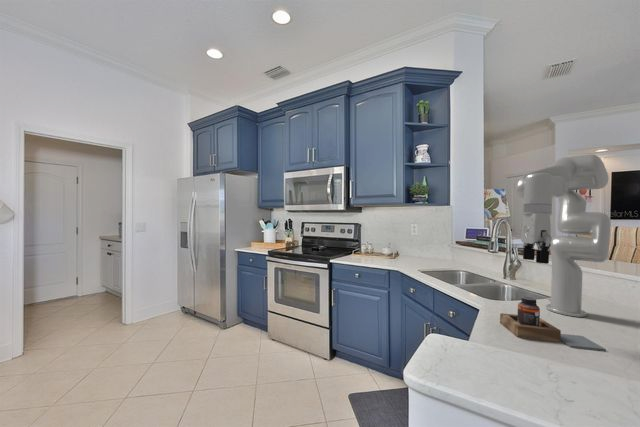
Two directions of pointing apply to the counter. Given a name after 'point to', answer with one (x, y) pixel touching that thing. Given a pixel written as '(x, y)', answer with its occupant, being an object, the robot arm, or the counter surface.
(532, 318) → the supplement bottle
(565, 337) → the slate coaster
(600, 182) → the robot arm
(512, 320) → the pocket frame
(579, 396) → the counter surface
